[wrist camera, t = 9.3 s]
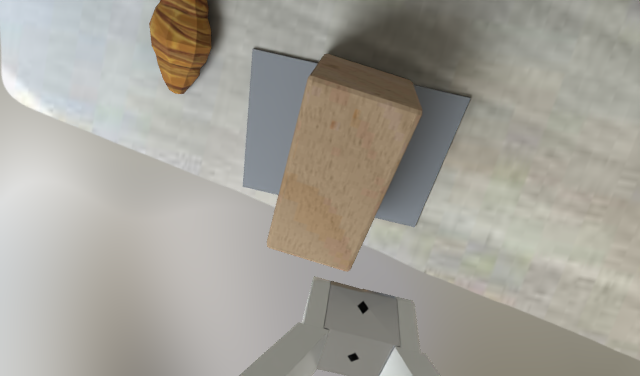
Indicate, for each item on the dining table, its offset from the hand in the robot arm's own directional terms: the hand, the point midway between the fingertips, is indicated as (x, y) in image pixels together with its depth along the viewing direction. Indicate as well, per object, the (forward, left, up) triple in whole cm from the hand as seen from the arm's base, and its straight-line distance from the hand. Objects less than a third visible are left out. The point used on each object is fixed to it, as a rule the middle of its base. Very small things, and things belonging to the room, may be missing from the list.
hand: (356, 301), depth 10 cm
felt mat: (+1, +10, -31) cm, 32 cm away
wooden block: (0, -1, -26) cm, 26 cm away
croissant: (+20, 0, -32) cm, 38 cm away
